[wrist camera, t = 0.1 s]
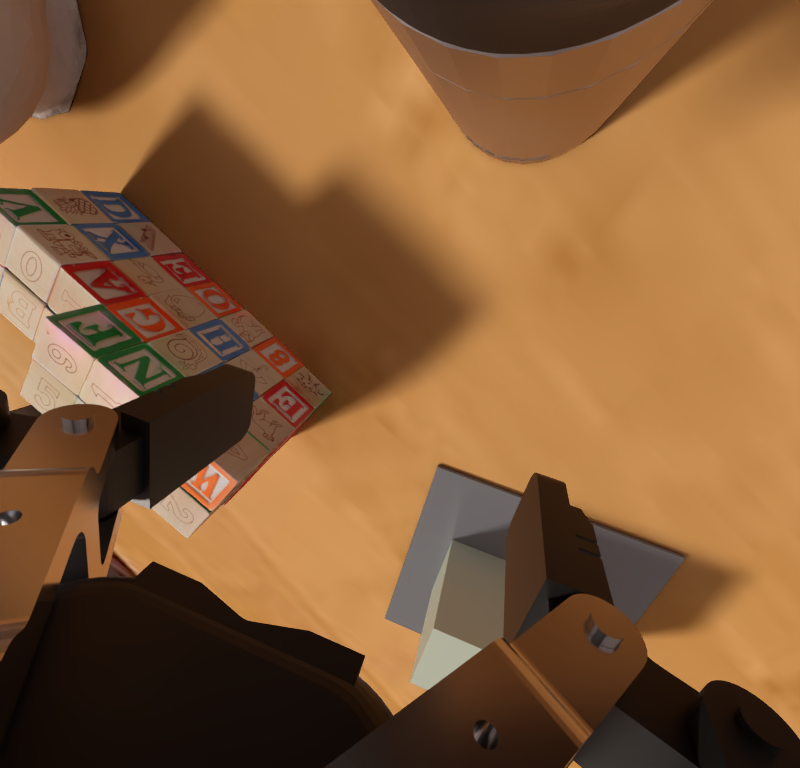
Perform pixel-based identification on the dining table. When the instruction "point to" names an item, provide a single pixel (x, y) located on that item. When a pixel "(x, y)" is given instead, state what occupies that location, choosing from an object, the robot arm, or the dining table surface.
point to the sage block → (460, 613)
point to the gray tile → (487, 531)
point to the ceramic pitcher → (38, 60)
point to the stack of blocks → (138, 328)
